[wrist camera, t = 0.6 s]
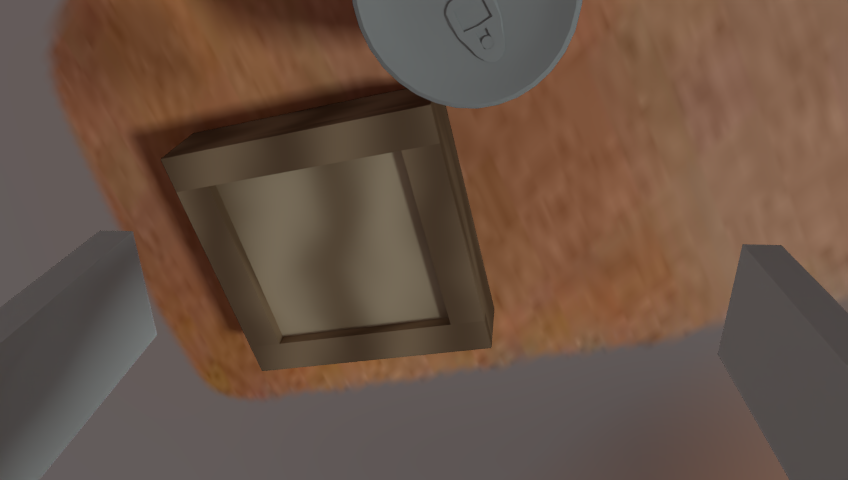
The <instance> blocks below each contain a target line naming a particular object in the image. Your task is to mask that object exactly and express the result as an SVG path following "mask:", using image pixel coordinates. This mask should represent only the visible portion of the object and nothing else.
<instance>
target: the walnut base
mask: <svg viewBox="0 0 848 480" xmlns="http://www.w3.org/2000/svg"><path fill="white" fill-rule="evenodd" d="M161 161H162V163H163V166H164V168H165V170H166V172H167V174H168V176H169V178H170V180H171V182H172V184H173V186H174V188H175V190H176V193H177V195H178V197H179V199H180V201H181V203H182V205H183V207H184V209H185V211H186V213H187V215H188V218H189V220H190V222H191V224H192V226H193V228H194V230H195V232H196V234H197V236H198V238H199V240H200V243H201V245H202V247H203V249H204V251H205V253H206V255H207V257H208V259H209V261H210V263H211V265H212V268H213V270H214V272H215V274H216V276H217V278H218V280H219V282H220V284H221V286H222V288H223V290H224V293H225V295H226V297H227V299H228V301H229V303H230V305H231V307H232V309H233V311H234V313H235V315H236V318H237V320H238V322H239V324H240V326H241V328H242V330H243V332H244V334H245V336H246V338H247V340H248V343H249V345H250V347H251V349H252V351H253V353H254V355H255V357H256V359H257V361H258V363H259V365H260V368H261V370H262V371H268V370H278V369H287V368H297V367H307V366H317V365H327V364H337V363H347V362H357V361H366V360H376V359H386V358H396V357H406V356H416V355H426V354H436V353H445V352H455V351H465V350H475V349H485V348H491V345H492V332H493V320H494V306H493V302H492V297H491V293H490V289H489V285H488V281H487V277H486V272H485V268H484V264H483V260H482V256H481V251H480V247H479V243H478V239H477V235H476V231H475V226H474V222H473V218H472V214H471V210H470V205H469V201H468V197H467V193H466V189H465V185H464V180H463V176H462V172H461V168H460V164H459V160H458V155H457V151H456V147H455V143H454V139H453V134H452V130H451V126H450V122H449V118H448V114H447V109H446V105H442V104H438V103H435V102H432V101H430V100H428V99H425V98H423V97H421V96H419V95H416V94H415V93H413V92H412V91H410V90H409V89H408V88H407V89H402V90H398V91H393V92H388V93H383V94H379V95H374V96H369V97H364V98H360V99H355V100H350V101H345V102H341V103H336V104H331V105H326V106H322V107H317V108H312V109H307V110H303V111H298V112H293V113H288V114H284V115H279V116H274V117H269V118H265V119H260V120H255V121H250V122H246V123H241V124H236V125H231V126H226V127H222V128H217V129H212V130H207V131H203V132H198V133H193V134H192V135H190V136H189V137H188V138H187V139H185V140H184V141H183V142H182V143H180V144H179V145H178V146H176V147H175V148H174V149H173V150H171V151H170V152H169V153H168V154H166V155H165V156H164V157H163V158H161Z"/></svg>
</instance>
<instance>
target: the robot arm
mask: <svg viewBox="0 0 848 480" xmlns="http://www.w3.org/2000/svg"><path fill="white" fill-rule="evenodd" d="M156 336H157V332H156V328H155V324H154V320H153V315H152V311H151V307H150V303H149V298H148V294H147V290H146V286H145V281H144V277H143V273H142V269H141V265H140V260H139V256H138V252H137V248H136V243H135V239H134V235H133V231H99V232H98V233H96V234H95V235H94V236H92V237H91V238H90V239H89V240H87V241H86V242H85V243H83V244H82V245H81V246H79V247H78V248H77V249H76V250H74V251H73V252H72V253H70V254H69V255H68V256H66V257H65V258H64V259H62V260H61V261H60V262H59V263H57V264H56V265H55V266H53V267H52V268H51V269H49V270H48V271H47V272H46V273H44V274H43V275H42V276H40V277H39V278H38V279H36V280H35V281H34V282H33V283H31V284H30V285H29V286H27V287H26V288H25V289H24V290H22V291H21V292H20V293H18V294H17V295H16V296H14V297H13V298H12V299H11V300H9V301H8V302H7V303H5V304H4V305H3V306H2V307H0V480H40V478H41V477H42V476H43V475H44V473H45V472H46V471H47V470H48V468H49V467H50V466H51V465H52V464H53V462H54V461H55V460H56V459H57V457H58V456H59V455H60V454H61V452H62V451H63V450H64V449H65V448H66V446H67V445H68V444H69V443H70V441H71V440H72V439H73V438H74V436H75V435H76V434H77V433H78V432H79V430H80V429H81V428H82V427H83V425H84V424H85V423H86V422H87V420H88V419H89V418H90V417H91V415H92V414H93V413H94V412H95V411H96V409H97V408H98V407H99V406H100V404H101V403H102V402H103V401H104V400H105V398H106V397H107V396H108V395H109V393H110V392H111V391H112V390H113V389H114V387H115V386H116V385H117V384H118V382H119V381H120V380H121V379H122V377H123V376H124V375H125V373H126V372H127V371H128V370H129V369H130V367H131V366H132V365H133V364H134V362H135V361H136V360H137V359H138V358H139V357H140V355H141V354H142V353H143V352H144V350H145V349H146V348H147V347H148V345H149V344H150V343H151V342H152V341H153V339H154V338H155V337H156ZM718 355H719V357H720V359H721V361H722V363H723V364H724V366H725V368H726V369H727V371H728V373H729V375H730V377H731V378H732V380H733V382H734V384H735V385H736V387H737V389H738V391H739V392H740V394H741V396H742V398H743V399H744V401H745V403H746V405H747V406H748V408H749V410H750V412H751V413H752V415H753V417H754V419H755V420H756V422H757V424H758V426H759V427H760V429H761V431H762V433H763V434H764V436H765V438H766V440H767V441H768V443H769V445H770V446H771V448H772V450H773V452H774V454H775V455H776V457H777V459H778V461H779V462H780V464H781V466H782V467H783V469H784V471H785V473H786V475H787V476H788V478H789V480H848V313H847V312H846V311H845V310H844V309H843V308H842V307H841V306H840V305H839V304H838V303H837V301H836V300H835V299H834V298H833V297H832V296H831V295H830V294H829V293H828V292H827V291H826V290H825V289H824V288H823V287H822V286H821V285H820V284H819V283H818V282H817V281H816V280H815V279H814V278H813V277H812V276H811V275H810V274H809V273H808V272H807V271H806V270H805V269H804V268H803V267H802V266H801V265H800V264H799V263H798V262H797V261H796V260H795V259H794V258H793V257H792V256H791V255H790V254H789V253H788V252H787V251H786V250H785V248H784V247H783V246H782V245H747V244H743V245H742V250H741V254H740V259H739V263H738V267H737V272H736V276H735V281H734V285H733V289H732V294H731V298H730V303H729V307H728V311H727V316H726V320H725V325H724V329H723V333H722V338H721V342H720V347H719V351H718Z"/></svg>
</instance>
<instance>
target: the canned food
mask: <svg viewBox="0 0 848 480" xmlns="http://www.w3.org/2000/svg"><path fill="white" fill-rule="evenodd" d="M352 1H353V7H354V10H355V14H356V17H357V21H358V24H359V28H360V30H361V32H362V34H363V36H364V38H365V40H366V42H367V44H368V46H369V48H370V50H371V51H372V53H373V54H374V55H375V57H376V58H377V60H378V61H379V62H380V64H381V65H382V66H383V68H384V69H385V70H386V71H387V72H388V73H389V74H391V75H392V76H393V77H394V78H395V79H396V80H397V81H398V82H399V83H400V84H402V85H403V86H405V87H406V88H408V89H409V90H410V91H412V92H413V93H415V94H416V95H419V96H421V97H423V98H425V99H428V100H430V101H432V102H435V103H438V104H442V105H446V106H451V107H455V108H482V107H488V106H494V105H499V104H501V103H504V102H507V101H509V100H512V99H514V98H517V97H519V96H520V95H522V94H524V93H525V92H527V91H528V90H530V89H531V88H533V87H535V86H536V85H537V84H538V83H539V82H540V81H541V80H542V79H543V78H545V77H546V76H547V75H548V74H549V73H550V72H551V71H552V70H553V68H554V67H555V65H556V64H557V63H558V61H559V60H560V59H561V57H562V56H563V54H564V53H565V51H566V49H567V47H568V45H569V43H570V41H571V38H572V36H573V34H574V32H575V29H576V25H577V22H578V18H579V14H580V10H581V6H582V0H352Z"/></svg>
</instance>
